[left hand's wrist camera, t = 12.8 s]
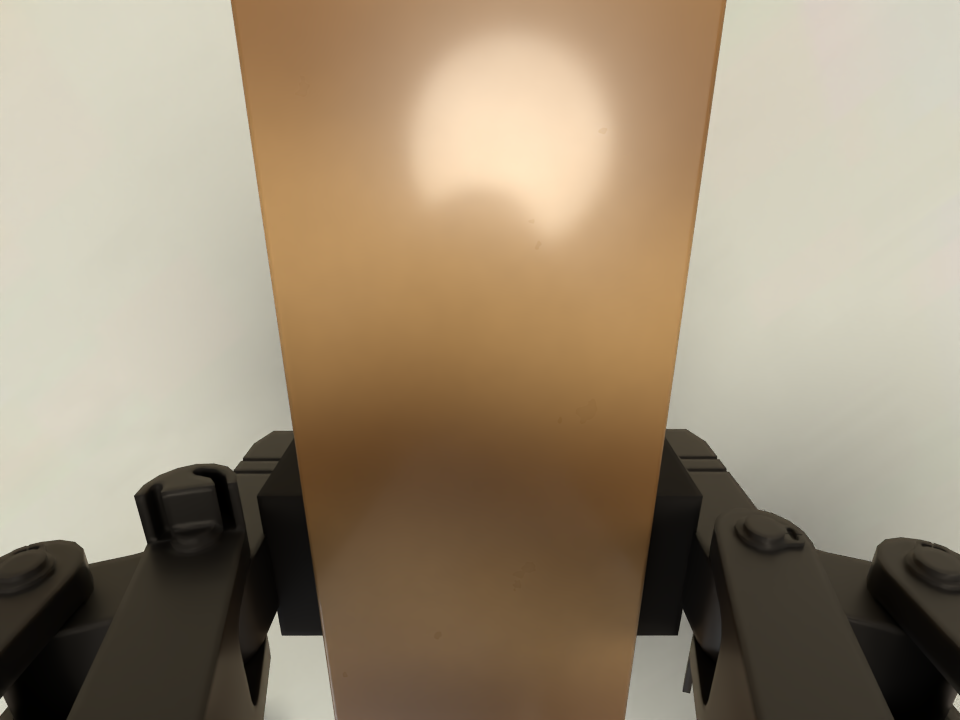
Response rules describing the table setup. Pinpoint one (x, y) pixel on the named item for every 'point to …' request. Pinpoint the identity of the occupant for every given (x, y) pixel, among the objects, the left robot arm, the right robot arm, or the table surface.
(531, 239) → the bar
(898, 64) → the table surface
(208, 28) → the table surface
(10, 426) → the table surface
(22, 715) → the left robot arm
